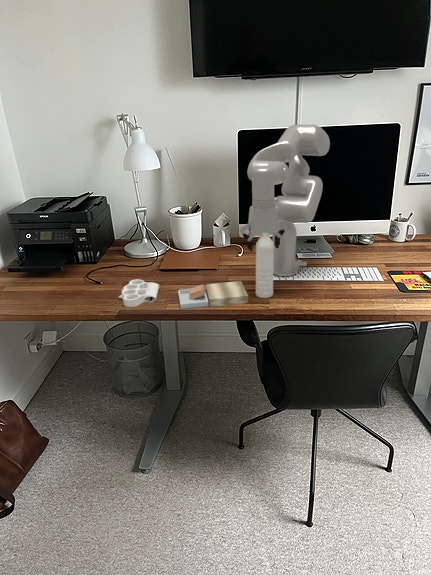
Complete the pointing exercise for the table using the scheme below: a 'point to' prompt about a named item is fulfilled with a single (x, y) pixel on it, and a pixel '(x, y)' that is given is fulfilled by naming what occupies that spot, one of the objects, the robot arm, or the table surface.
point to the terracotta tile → (197, 292)
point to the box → (188, 303)
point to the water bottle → (264, 266)
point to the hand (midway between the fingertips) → (263, 248)
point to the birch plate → (226, 293)
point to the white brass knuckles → (139, 292)
